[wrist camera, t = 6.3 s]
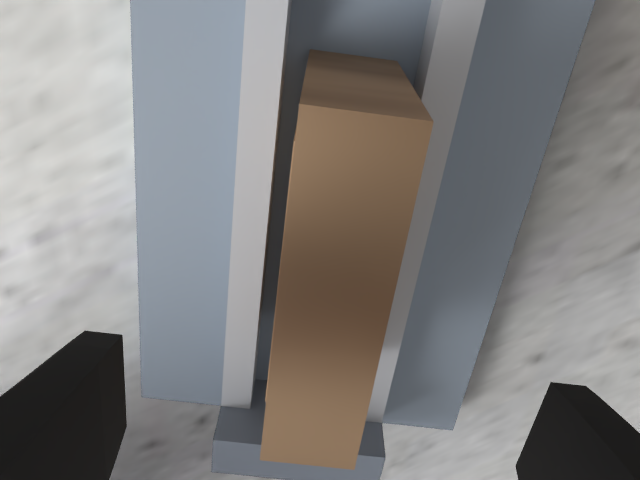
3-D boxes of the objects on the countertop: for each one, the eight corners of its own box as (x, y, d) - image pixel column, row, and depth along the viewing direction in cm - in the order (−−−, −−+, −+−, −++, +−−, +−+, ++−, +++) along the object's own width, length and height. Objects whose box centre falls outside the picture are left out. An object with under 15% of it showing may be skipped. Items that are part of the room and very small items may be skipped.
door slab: (349, 326, 19) (356, 469, 14) (277, 318, 19) (257, 459, 14) (398, 61, 15) (436, 121, 10) (308, 48, 15) (296, 103, 10)
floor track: (446, 407, 23) (470, 498, 19) (150, 375, 22) (114, 462, 18) (610, -109, 14) (709, -129, 11) (140, -182, 14) (70, -230, 10)
